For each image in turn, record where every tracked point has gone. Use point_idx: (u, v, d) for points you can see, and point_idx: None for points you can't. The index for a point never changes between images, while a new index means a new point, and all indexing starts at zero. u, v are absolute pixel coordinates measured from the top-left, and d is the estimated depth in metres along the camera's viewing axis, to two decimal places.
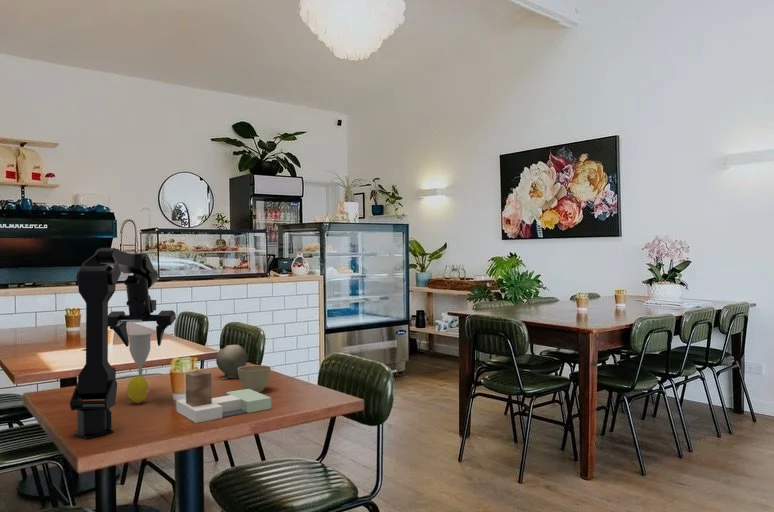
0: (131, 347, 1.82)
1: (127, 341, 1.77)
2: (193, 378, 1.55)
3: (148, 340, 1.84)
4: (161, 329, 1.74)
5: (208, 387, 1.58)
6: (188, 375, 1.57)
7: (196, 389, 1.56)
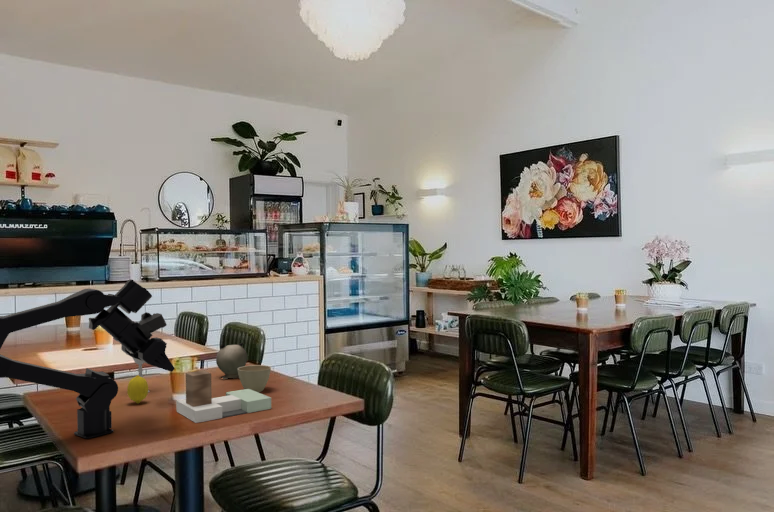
0: None
1: None
2: (193, 378, 1.55)
3: None
4: (150, 364, 1.45)
5: (208, 387, 1.58)
6: (188, 375, 1.57)
7: (196, 389, 1.56)
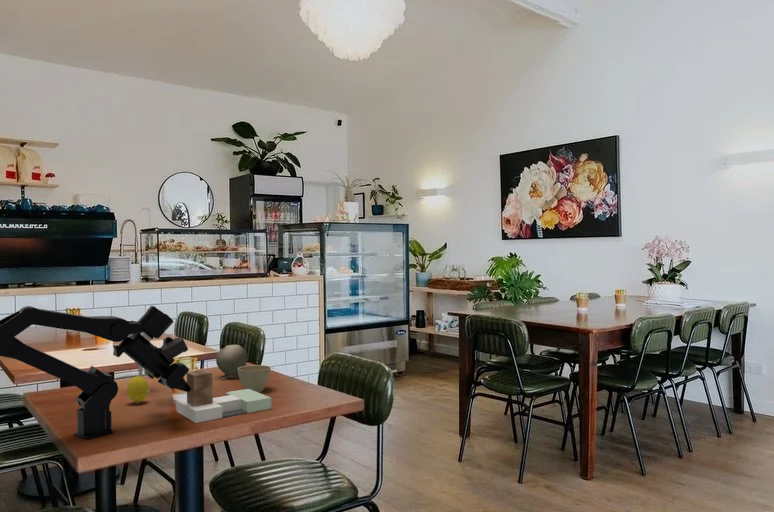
0: None
1: None
2: (194, 378, 1.55)
3: (148, 340, 1.84)
4: None
5: (209, 387, 1.58)
6: (189, 375, 1.58)
7: (197, 388, 1.56)
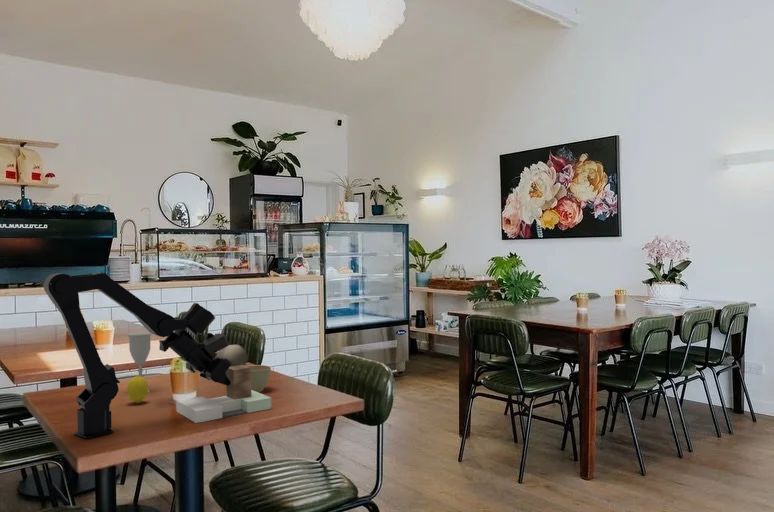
0: (131, 347, 1.82)
1: None
2: (234, 372, 1.62)
3: (148, 340, 1.84)
4: None
5: (248, 381, 1.65)
6: (229, 369, 1.64)
7: (237, 382, 1.63)
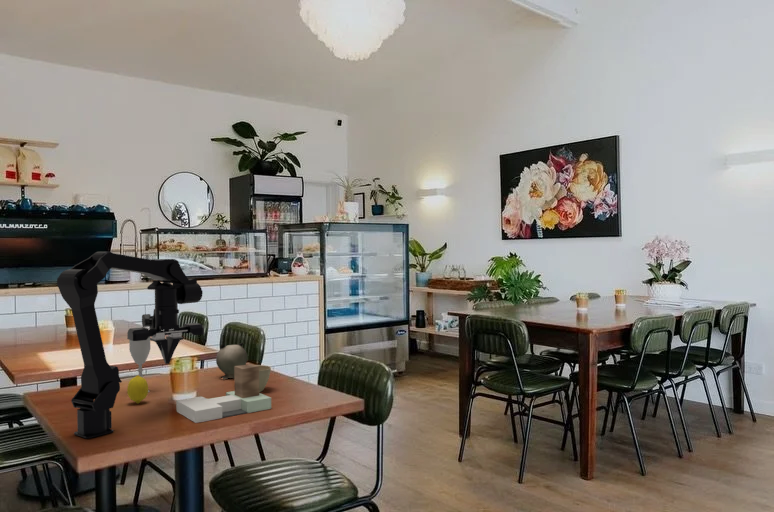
0: (131, 347, 1.82)
1: None
2: (242, 371, 1.64)
3: (148, 340, 1.84)
4: (178, 341, 1.61)
5: (256, 380, 1.66)
6: (237, 368, 1.66)
7: (245, 381, 1.64)
